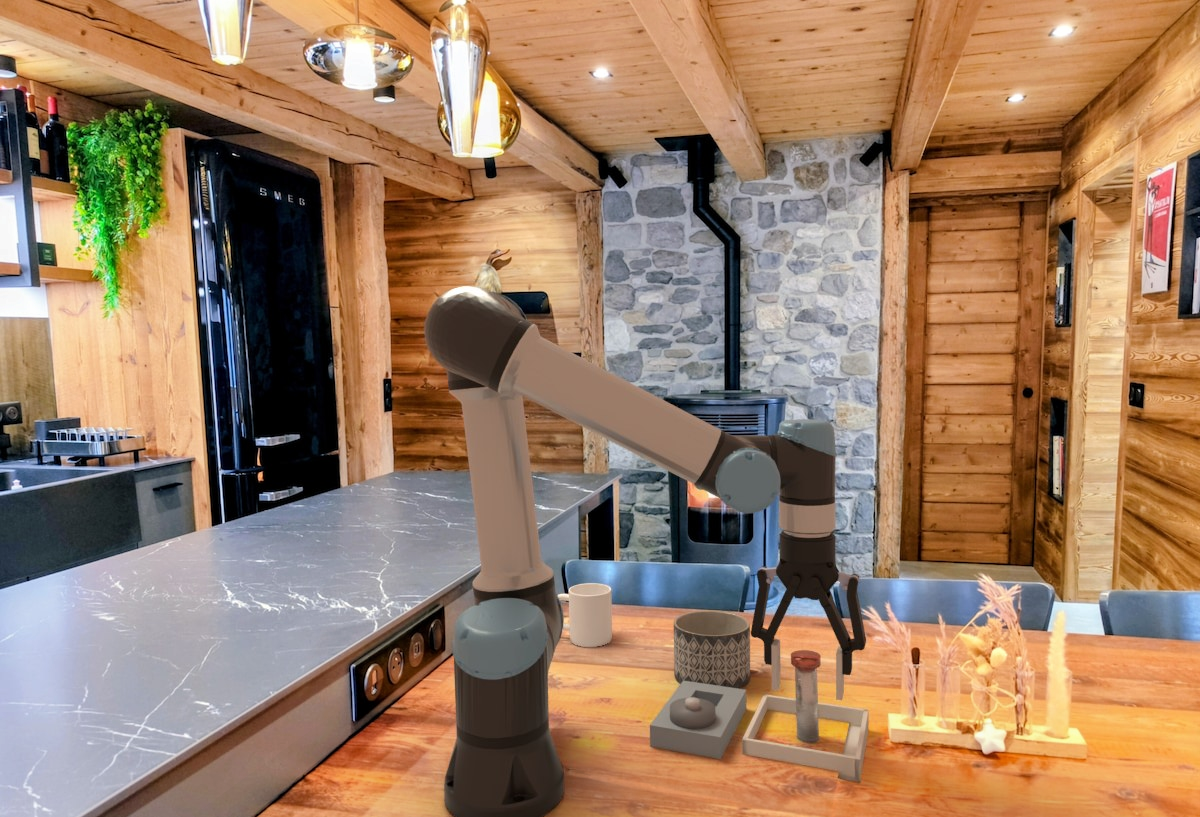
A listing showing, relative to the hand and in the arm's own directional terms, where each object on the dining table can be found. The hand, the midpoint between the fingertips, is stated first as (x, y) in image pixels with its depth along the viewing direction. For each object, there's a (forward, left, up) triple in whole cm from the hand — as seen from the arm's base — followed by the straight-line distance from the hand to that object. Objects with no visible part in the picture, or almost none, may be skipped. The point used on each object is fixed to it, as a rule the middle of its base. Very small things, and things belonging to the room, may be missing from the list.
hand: (807, 691), depth 110 cm
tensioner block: (-2, +15, -8) cm, 17 cm away
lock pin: (0, 0, -7) cm, 7 cm away
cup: (+27, +47, -8) cm, 55 cm away
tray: (0, 0, -8) cm, 8 cm away
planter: (+16, +18, -8) cm, 25 cm away
